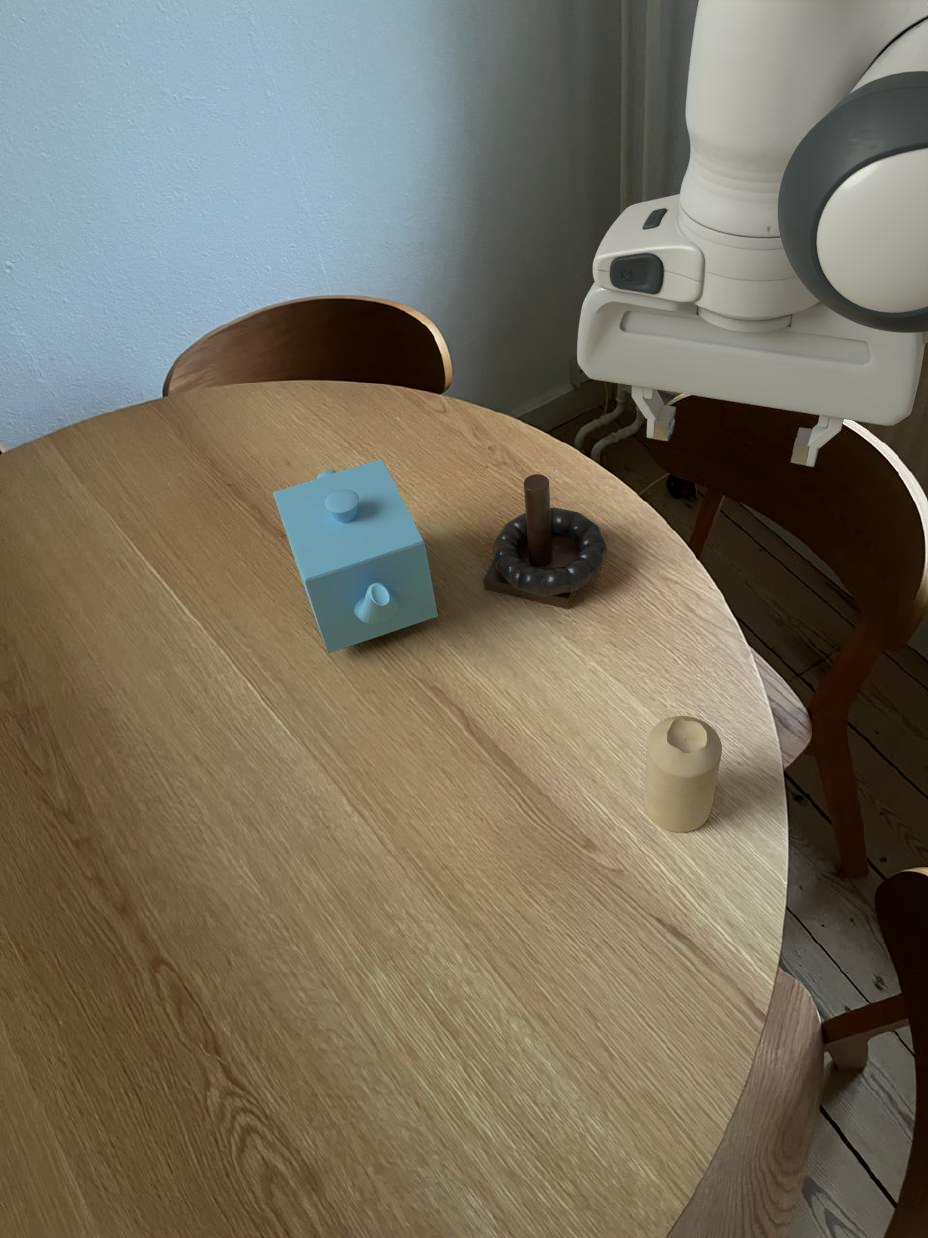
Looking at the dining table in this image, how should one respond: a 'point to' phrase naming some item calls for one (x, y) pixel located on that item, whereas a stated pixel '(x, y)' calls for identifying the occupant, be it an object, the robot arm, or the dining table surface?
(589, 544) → the ring
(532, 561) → the stand
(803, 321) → the robot arm
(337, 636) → the teapot
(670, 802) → the candle
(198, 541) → the dining table surface
